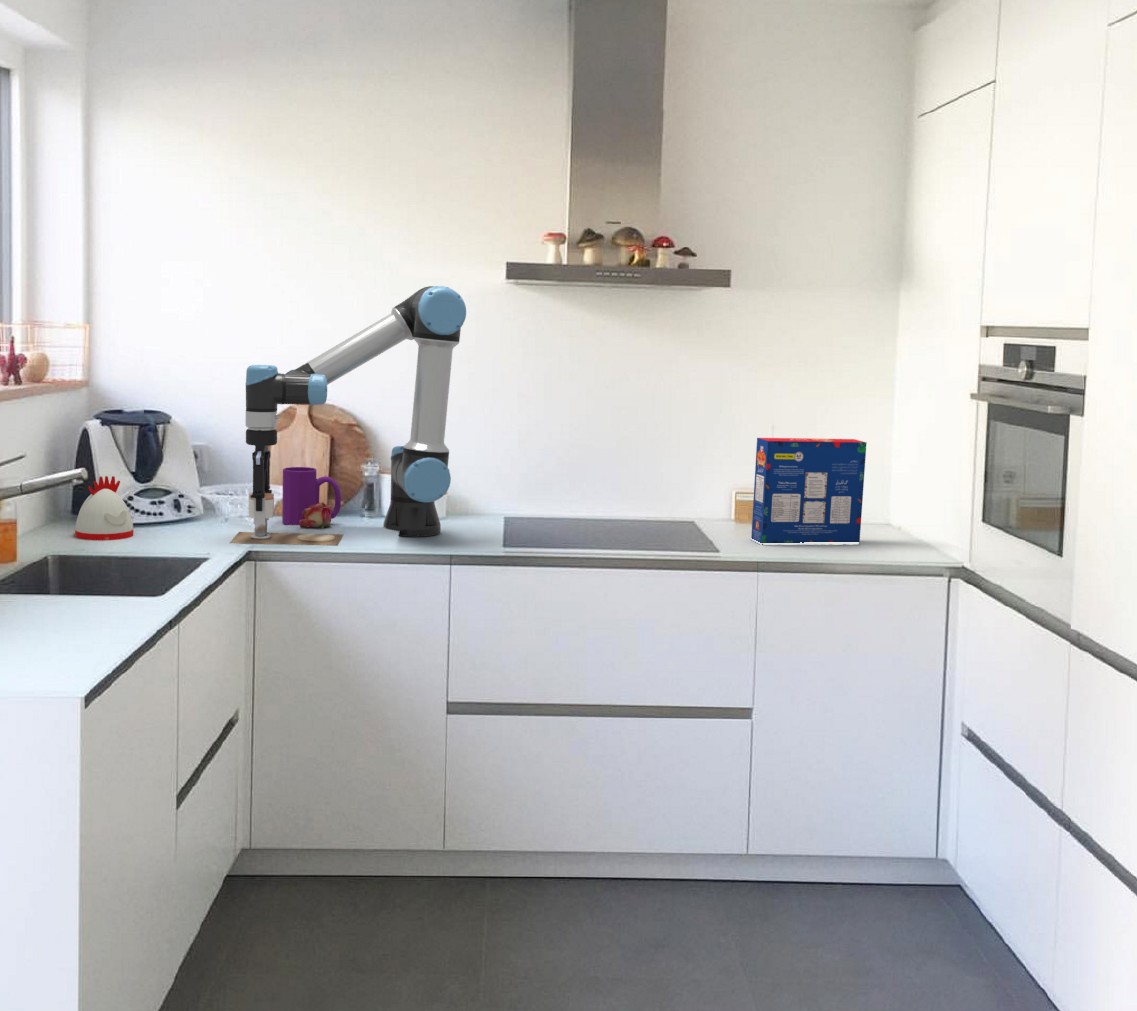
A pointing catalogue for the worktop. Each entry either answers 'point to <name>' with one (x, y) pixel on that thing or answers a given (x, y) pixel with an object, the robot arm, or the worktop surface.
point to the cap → (268, 505)
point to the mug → (304, 493)
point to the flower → (317, 516)
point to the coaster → (316, 537)
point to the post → (261, 532)
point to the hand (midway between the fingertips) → (261, 521)
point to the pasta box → (808, 490)
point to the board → (282, 539)
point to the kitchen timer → (104, 514)
